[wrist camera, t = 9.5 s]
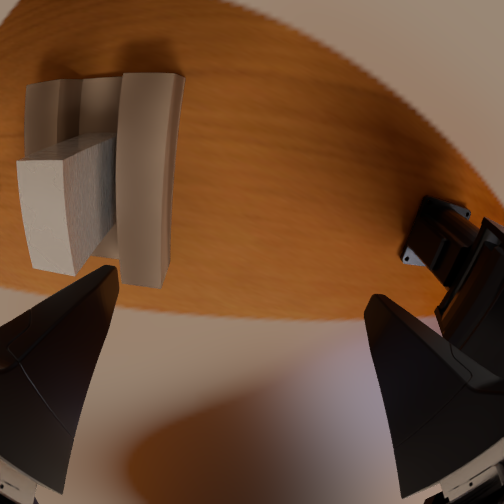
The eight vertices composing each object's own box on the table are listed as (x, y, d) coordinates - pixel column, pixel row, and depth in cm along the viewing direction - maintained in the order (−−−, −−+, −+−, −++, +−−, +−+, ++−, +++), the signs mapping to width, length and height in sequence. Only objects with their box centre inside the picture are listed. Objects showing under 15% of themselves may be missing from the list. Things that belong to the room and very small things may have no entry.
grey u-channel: (185, 77, 16) (174, 73, 13) (170, 262, 22) (161, 288, 19) (54, 83, 14) (26, 85, 11) (60, 247, 21) (41, 269, 18)
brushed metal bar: (124, 133, 17) (62, 160, 10) (122, 214, 20) (75, 276, 13) (87, 132, 16) (16, 160, 9) (88, 210, 19) (33, 268, 12)
